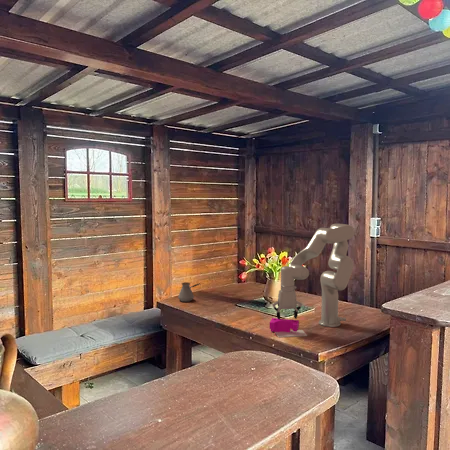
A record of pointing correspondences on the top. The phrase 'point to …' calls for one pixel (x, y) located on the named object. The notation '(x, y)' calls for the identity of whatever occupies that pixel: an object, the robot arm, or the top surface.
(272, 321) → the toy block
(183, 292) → the coffee pot
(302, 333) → the mat
